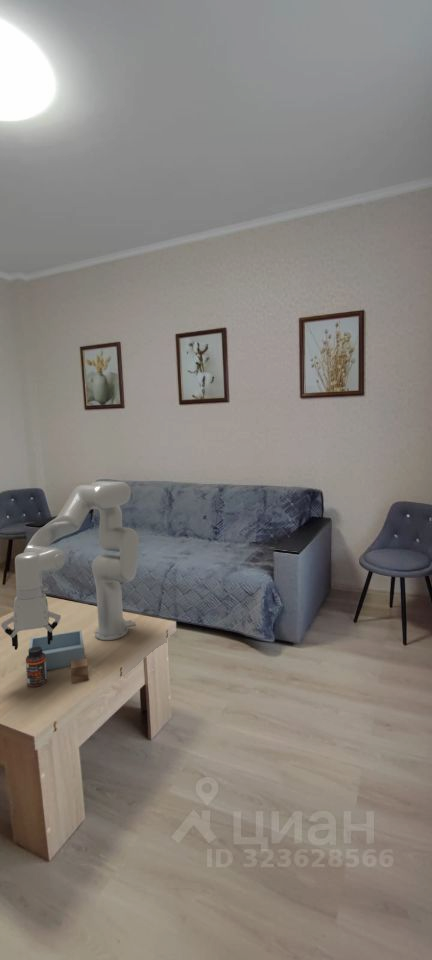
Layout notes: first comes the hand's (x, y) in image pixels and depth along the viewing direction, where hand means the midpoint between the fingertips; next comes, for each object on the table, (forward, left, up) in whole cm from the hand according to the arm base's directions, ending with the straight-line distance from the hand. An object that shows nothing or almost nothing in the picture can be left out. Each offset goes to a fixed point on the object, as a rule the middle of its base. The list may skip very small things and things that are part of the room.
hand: (33, 645), depth 144 cm
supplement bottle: (0, 0, -13) cm, 13 cm away
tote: (-6, -14, -13) cm, 20 cm away
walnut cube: (-13, +2, -13) cm, 19 cm away
